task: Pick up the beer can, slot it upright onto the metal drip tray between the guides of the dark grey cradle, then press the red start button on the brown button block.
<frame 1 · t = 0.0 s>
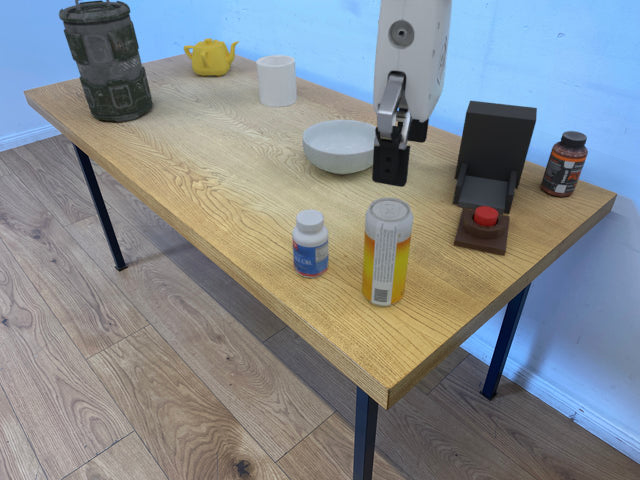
hand: (400, 160, 48), 25 cm above the table, tool pointing down, fingers open, 9 cm apart
dark grey cradle: (485, 183, 93), on the table
beer can: (382, 295, 69), on the table
canister: (123, 112, 126), on the table
teapot: (215, 73, 150), on the table
pill bottle: (311, 268, 74), on the table
start button: (485, 216, 78), point 3 cm above the table, slide at 0.1 cm
mug: (279, 99, 131), on the table
cereal bowl: (342, 166, 100), on the table
supplement bottle: (556, 190, 91), on the table
button block: (481, 233, 80), on the table
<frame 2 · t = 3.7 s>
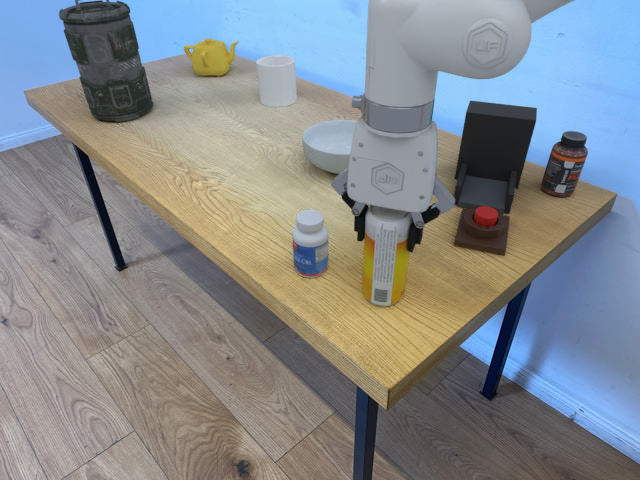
hand: (387, 239, 63), 10 cm above the table, tool pointing down, fingers closed on beer can, 6 cm apart
beer can: (382, 295, 69), on the table, touching gripper
everything else where it was.
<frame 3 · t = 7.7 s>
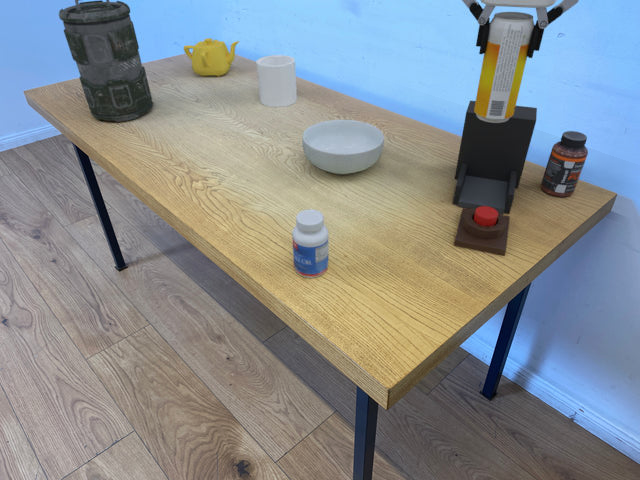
hand: (506, 52, 70), 27 cm above the table, tool pointing down, fingers closed on beer can, 6 cm apart
beer can: (492, 117, 76), point 17 cm above the table, touching gripper
everything else where it was.
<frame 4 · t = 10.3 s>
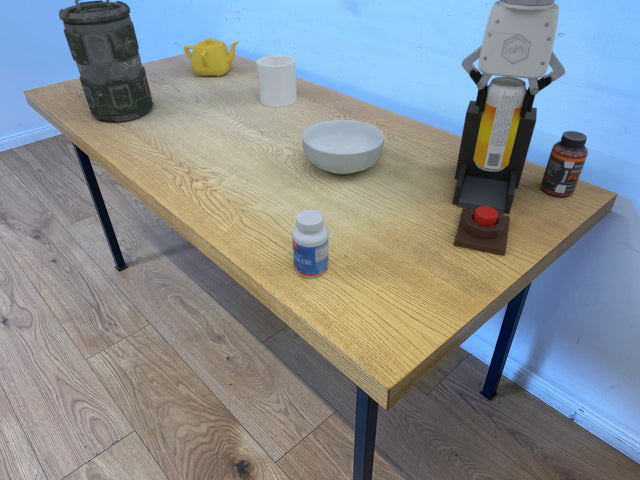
hand: (501, 111, 79), 17 cm above the table, tool pointing down, fingers closed on beer can, 6 cm apart
beer can: (489, 165, 85), point 7 cm above the table, touching gripper
everything else where it was.
when the fingers open (11 cm above the table, at t = 12.1 s): beer can stays where it is, resting on dark grey cradle.
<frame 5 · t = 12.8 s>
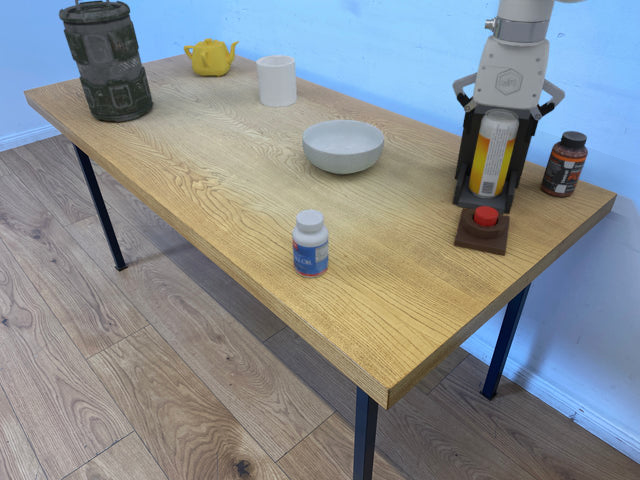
hand: (496, 135, 81), 13 cm above the table, tool pointing down, fingers open, 9 cm apart
beer can: (484, 192, 88), point 1 cm above the table, touching dark grey cradle
everything else where it was.
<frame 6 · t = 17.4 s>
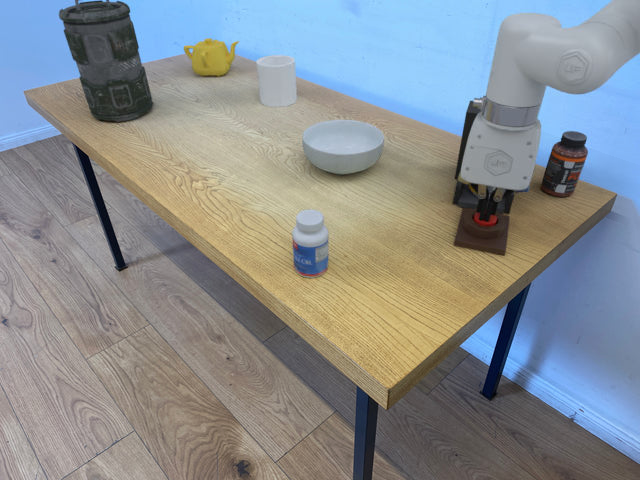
hand: (484, 216, 78), 3 cm above the table, tool pointing down, fingers closed
start button: (484, 221, 78), point 3 cm above the table, slide at -0.9 cm, touching gripper
everything else where it was.
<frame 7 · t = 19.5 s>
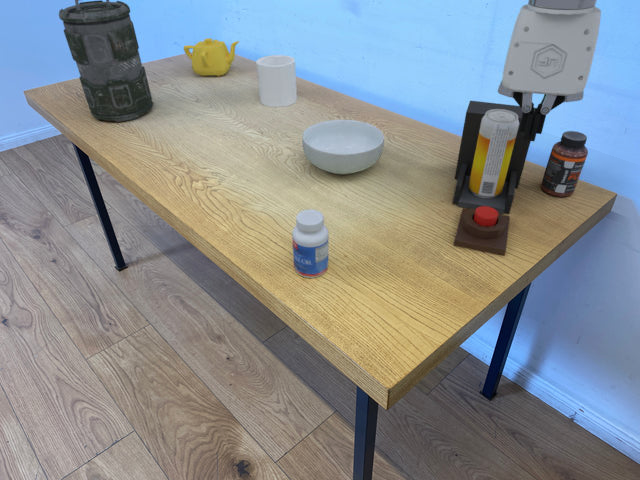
hand: (528, 136, 68), 18 cm above the table, tool pointing down, fingers closed
start button: (485, 216, 78), point 3 cm above the table, slide at 0.1 cm
everything else where it was.
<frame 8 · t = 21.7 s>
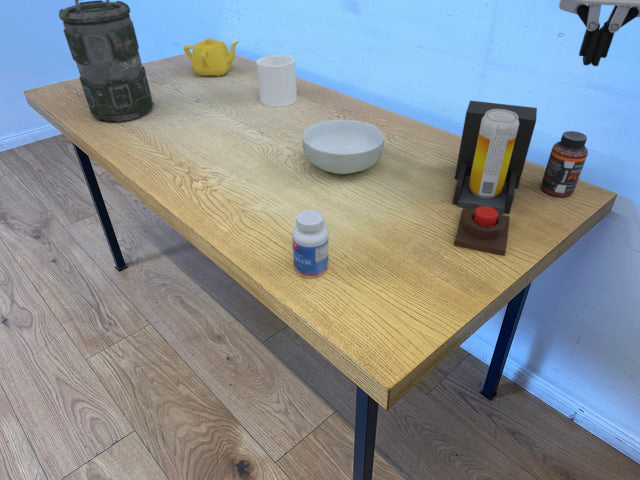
hand: (590, 62, 60), 29 cm above the table, tool pointing down, fingers closed
nothing on the table moved.
at the end: beer can 0.1 cm from the target spot on the dark grey cradle, point 1.0 cm above the dark grey cradle's base; beer can tilted 0°; start button pushed in 1.1 cm at the most during the clip, back to where it started at the end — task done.
